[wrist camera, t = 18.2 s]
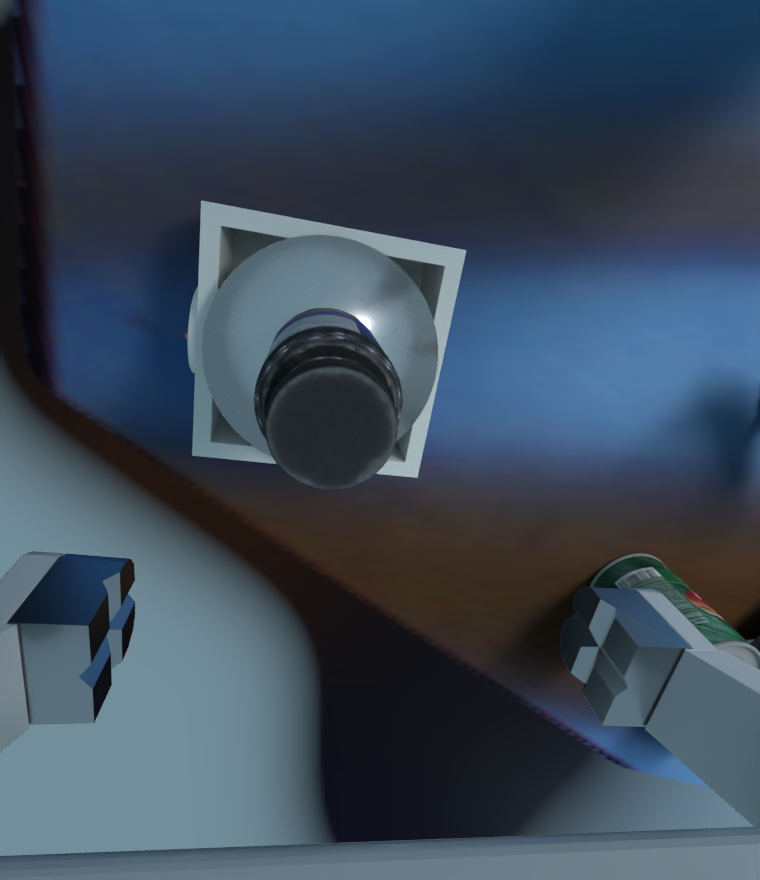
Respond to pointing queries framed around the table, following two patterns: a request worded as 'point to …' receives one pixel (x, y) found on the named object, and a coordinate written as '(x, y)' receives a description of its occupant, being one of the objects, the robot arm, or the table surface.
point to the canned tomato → (676, 600)
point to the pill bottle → (328, 400)
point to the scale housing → (248, 231)
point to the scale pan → (308, 287)
